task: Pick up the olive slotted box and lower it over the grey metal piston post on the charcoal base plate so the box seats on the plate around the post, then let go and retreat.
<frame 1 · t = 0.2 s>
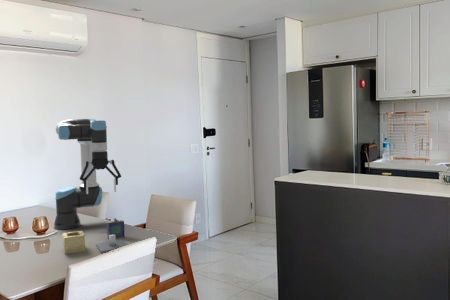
hand: (101, 192, 212), 27 cm above the table, fingers open, 13 cm apart
olive slotted box: (74, 249, 207), on the table
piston: (112, 247, 211), on the table
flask: (116, 238, 227), on the table
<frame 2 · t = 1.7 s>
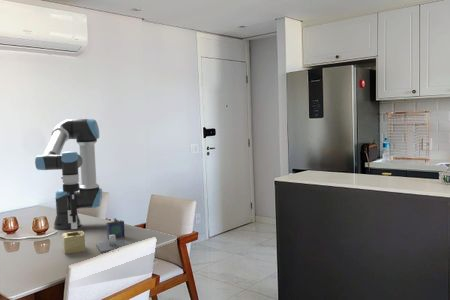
hand: (72, 225, 206), 12 cm above the table, fingers open, 13 cm apart
nothing on the table moved.
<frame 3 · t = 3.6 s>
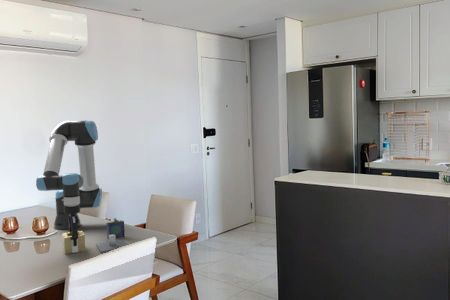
hand: (73, 249, 207), 0 cm above the table, fingers closed on olive slotted box, 9 cm apart
olive slotted box: (74, 249, 207), on the table, touching gripper
everything else where it was.
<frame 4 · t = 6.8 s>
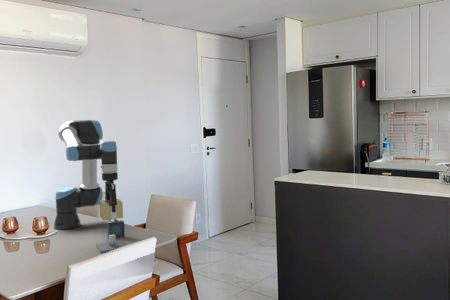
hand: (111, 216, 209), 16 cm above the table, fingers closed on olive slotted box, 9 cm apart
olive slotted box: (111, 217, 209), point 15 cm above the table, touching gripper
everything else where it was.
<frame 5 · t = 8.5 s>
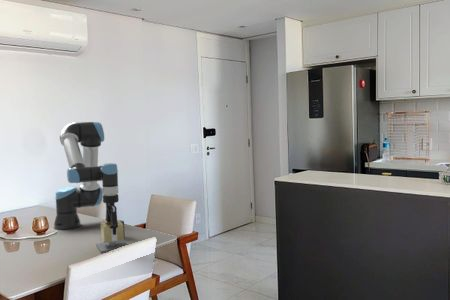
hand: (112, 238, 210), 5 cm above the table, fingers closed on olive slotted box, 9 cm apart
olive slotted box: (112, 238, 210), point 4 cm above the table, touching gripper
everything else where it was.
when the fingers open (3 cm above the table, at t = 9.9 s): olive slotted box drops 1 cm, resting on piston.
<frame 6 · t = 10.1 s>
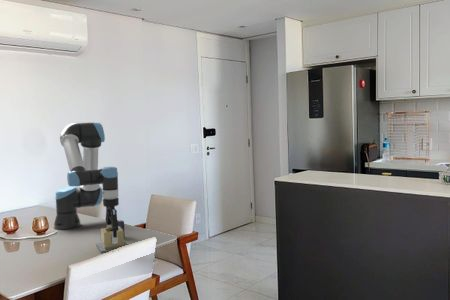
hand: (112, 240, 210), 3 cm above the table, fingers open, 11 cm apart
olive slotted box: (112, 245, 211), point 1 cm above the table, touching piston
everything else where it was.
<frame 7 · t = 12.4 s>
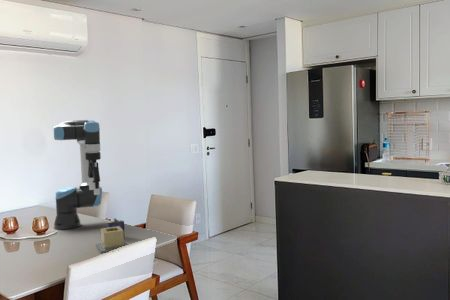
hand: (94, 192, 218), 26 cm above the table, fingers open, 13 cm apart
nothing on the table moved.
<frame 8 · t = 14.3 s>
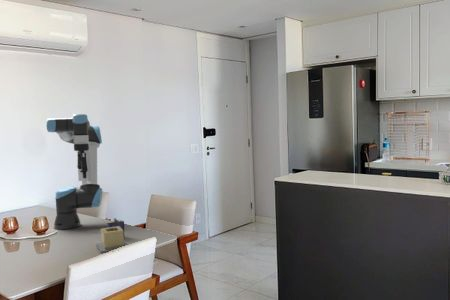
hand: (82, 182, 224), 31 cm above the table, fingers open, 13 cm apart
nothing on the table moved.
at the end: olive slotted box 0.1 cm off-centre on the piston, point 1.0 cm above the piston's base; olive slotted box tilted 0°; the gripper is holding nothing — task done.
